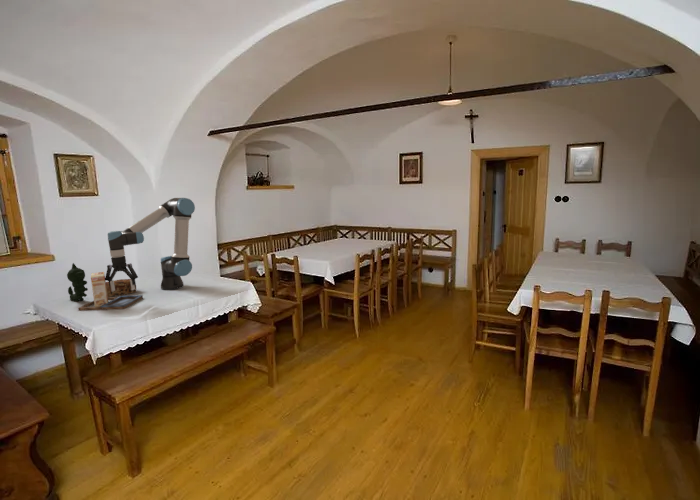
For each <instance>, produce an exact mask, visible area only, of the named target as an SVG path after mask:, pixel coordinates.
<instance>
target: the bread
mask: <svg viewBox="0 0 700 500" xmlns="http://www.w3.org/2000/svg"><path fill="white" fill-rule="evenodd" d="M130 280H131V279H130V278H124V279H116V280H114V286H115V291H113V292H112V291H111V286H109V281H105V282H106V290H107V297H120V296H125V295H129V294H133V293H134V294H135V293H137V285H136V284H137V283H136V284H135V290H132V289H131V283H130ZM124 294H125V295H124ZM119 295H120V296H119Z"/></svg>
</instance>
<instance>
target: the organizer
mask: <svg viewBox="0 0 700 500" xmlns="http://www.w3.org/2000/svg"><path fill="white" fill-rule="evenodd" d="M143 296H144V295H143V294H142V295H141V294H140V295H139V294H137V295H135V294H134V295H120V296H111V297H107V298H108V303H106V304H104V305H102V306H100V307H95V306H92V305H94V300H93V301H90V302H88V303H86V304H84V305H82V306H79V307H78V308H77V309H78V311H98V310H103V311H104V310H125V309H127V308H129V307H130V306H132V305H134V304H135V303H137V302H139V301H141V300H142V299H143V298H144V297H143Z"/></svg>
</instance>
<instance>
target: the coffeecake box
mask: <svg viewBox="0 0 700 500" xmlns="http://www.w3.org/2000/svg"><path fill="white" fill-rule="evenodd" d="M105 277H106V273H105V272H104V271H99V272H92V273H91V274H90V281H91V287H92V296H93V301H94V304H93V305H94V307H100V306H102V305H104V304H106V303H108V302H109V300H108V298H107V290H106V282H107V281H106V280H105Z"/></svg>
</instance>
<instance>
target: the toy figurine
mask: <svg viewBox="0 0 700 500" xmlns="http://www.w3.org/2000/svg"><path fill="white" fill-rule="evenodd" d="M85 272H86V271H85V270H84V269H82V268H81V267H80V268H79V267H77V266H76V264H75V263H74V262H73V263H72V264H71V269H70V270H68V272H67V273H66V277H67V280H68V281H69V282H71V285H72V286H69V287H68V288H67V292H68V293H67V294H68V295H69V301H73V302H76V303H79V302H80V301H84V298H86V297H87V296H88V295H87V294H86V293H85V292H86V291H89V289H88V288H87V287H85V285H88V281H87V280H84V279H85V277H86V273H85Z"/></svg>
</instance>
